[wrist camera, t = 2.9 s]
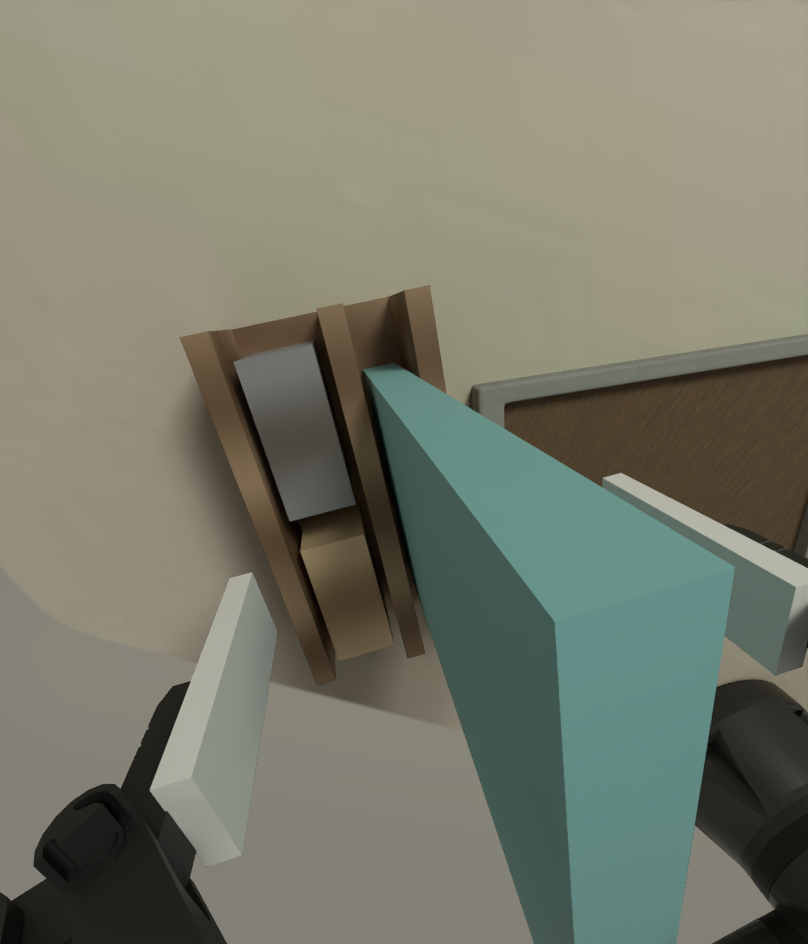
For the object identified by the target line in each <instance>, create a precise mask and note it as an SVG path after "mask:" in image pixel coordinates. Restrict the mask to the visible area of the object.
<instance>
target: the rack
mask: <svg viewBox="0 0 808 944" xmlns="http://www.w3.org/2000/svg"><path fill="white" fill-rule="evenodd" d="M180 339H181V342H182V345H183V347H184V350H185V352H186V355H187V357H188V360H189V362H190V365H191V367H192V370H193V372H194V375H195V377H196V380H197V383H198V385H199V388H200V390H201V393H202V395H203V398H204V400H205V403H206V405H207V408H208V410H209V413H210V415H211V418H212V420H213V423H214V426H215V428H216V431H217V433H218V436H219V438H220V441H221V443H222V446H223V448H224V451H225V453H226V456H227V458H228V461H229V464H230V466H231V469H232V471H233V474H234V476H235V479H236V481H237V484H238V486H239V489H240V491H241V494H242V496H243V499H244V501H245V504H246V507H247V509H248V512H249V514H250V517H251V519H252V522H253V524H254V527H255V529H256V532H257V534H258V537H259V539H260V542H261V545H262V547H263V550H264V552H265V555H266V557H267V560H268V562H269V565H270V567H271V570H272V572H273V575H274V577H275V580H276V582H277V585H278V588H279V590H280V593H281V595H282V598H283V600H284V603H285V605H286V608H287V610H288V613H289V615H290V618H291V620H292V623H293V625H294V628H295V631H296V633H297V636H298V638H299V641H300V643H301V646H302V648H303V651H304V653H305V656H306V658H307V661H308V663H309V666H310V669H311V671H312V674H313V676H314V679H315V681H316V684H317V686H319V685H322V684H325V683H329V682H332V681H335V680H336V671H335V648H334V645H333V643H332V640H331V637H330V634H329V631H328V628H327V626H326V623H325V620H324V617H323V614H322V611H321V609H320V606H319V603H318V600H317V597H316V594H315V592H314V589H313V586H312V583H311V580H310V577H309V575H308V572H307V569H306V566H305V563H304V560H303V558H302V555H301V552H300V550H301V541H302V533H303V524H304V518H302V519H298V520H294V521H289V518H288V515H287V512H286V509H285V507H284V504H283V501H282V498H281V495H280V492H279V490H278V487H277V484H276V481H275V478H274V475H273V473H272V470H271V467H270V464H269V461H268V458H267V456H266V453H265V450H264V447H263V444H262V442H261V439H260V436H259V433H258V430H257V427H256V425H255V422H254V419H253V416H252V413H251V410H250V408H249V405H248V402H247V399H246V396H245V393H244V391H243V388H242V385H241V382H240V379H239V376H238V374H237V371H236V368H235V365H234V361H237V360H239V359H242V358H244V357H246V356H249V355H251V354H255V353H259V352H264V351H269V350H273V349H278V348H282V347H287V346H292V345H296V344H301V343H306V342H310V341H315V342H316V346H317V349H318V353H319V357H320V361H321V364H322V368H323V372H324V375H325V379H326V383H327V386H328V390H329V394H330V398H331V401H332V405H333V409H334V412H335V416H336V420H337V424H338V427H339V431H340V435H341V438H342V442H343V446H344V450H345V453H346V457H347V461H348V464H349V468H350V472H351V477H352V483H353V490H354V496H355V500H356V499H358V502H359V505H360V509H361V513H362V516H363V520H364V524H365V527H366V531H367V535H368V539H369V542H370V546H371V550H372V553H373V557H374V561H375V565H376V568H377V572H378V576H379V579H380V583H381V587H382V591H383V594H384V598H385V603H386V608H387V612H390V611H393V610H395V612H396V616H397V620H398V624H399V628H400V632H401V635H402V639H403V643H404V647H405V651H406V655H407V658H412V657H415V656H418V655H422V654H425V651H424V646H423V642H422V638H421V634H420V629H419V625H418V621H417V617H416V612H415V608H414V604H417V603H420V600H419V597H418V594H417V591H416V588H415V585H414V582H413V579H412V576H411V573H410V570H409V567H408V563H407V559H406V555H405V550H404V546H403V542H402V537H401V533H400V529H399V524H398V520H397V516H396V511H395V507H394V503H393V498H392V494H391V490H390V485H389V481H388V477H387V472H386V468H385V464H384V459H383V455H382V451H381V446H380V442H379V438H378V433H377V429H376V425H375V420H374V416H373V412H372V407H371V403H370V399H369V394H368V390H367V386H366V382H365V377H364V373H363V369H368V368H372V367H376V366H381V365H385V364H390V363H395V364H397V365H399V366H400V367H402V368H404V369H405V370H407V371H409V372H410V373H412V374H414V375H415V376H417V377H419V378H420V379H422V380H424V381H425V382H427V383H429V384H430V385H432V386H434V387H435V388H437V389H439V390H440V391H442V392H444V393H445V394H446V388H445V382H444V375H443V369H442V362H441V356H440V349H439V343H438V336H437V330H436V323H435V317H434V310H433V304H432V298H431V291H430V285H429V286H424V287H419V288H414V289H409V290H405V291H402V292H400V293H397V294H395V295H392V296H390V297H386V298H381V299H376V300H372V301H367V302H362V303H357V304H352V305H348V306H343V303H342V304H337V305H333V306H328V307H323V308H318V309H317V312H314V313H309V314H305V315H300V316H295V317H290V318H286V319H281V320H276V321H271V322H266V323H262V324H257V325H252V326H247V327H243V328H238V329H233V330H221V331H208V332H203V333H198V334H194V335H189V336H184V337H180Z"/></svg>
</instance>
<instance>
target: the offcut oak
mask: <svg viewBox="0 0 808 944" xmlns="http://www.w3.org/2000/svg"><path fill="white" fill-rule="evenodd" d="M355 502H356V505H352V506H348V507H344V508H340V509H336V510H332V511H329V512H325V513H321V514H317V515H313V516H309V517H305V518H304V524H303V533H302V541H301V550H300V552H301V555H302V558H303V560H304V563H305V566H306V569H307V572H308V575H309V577H310V580H311V583H312V586H313V589H314V592H315V594H316V597H317V600H318V603H319V606H320V609H321V611H322V614H323V617H324V620H325V623H326V626H327V628H328V631H329V634H330V637H331V640H332V643H333V645H334V648H335V651H336V654H337V657H338V660H339V661H343V660H346V659H349V658H353V657H356V656H360V655H363V654H366V653H370V652H373V651H376V650H380V649H383V648H386V647H390V646H393V645H394V641H393V637H392V632H391V627H390V622H389V617H388V613H387V608H386V603H385V598H384V594H383V591H382V587H381V583H380V579H379V576H378V572H377V568H376V565H375V561H374V557H373V553H372V550H371V546H370V542H369V539H368V535H367V531H366V527H365V524H364V520H363V516H362V513H361V509H360V505H359V502H358V499H356V500H355Z"/></svg>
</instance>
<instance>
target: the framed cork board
mask: <svg viewBox="0 0 808 944" xmlns="http://www.w3.org/2000/svg"><path fill="white" fill-rule="evenodd" d="M471 396H472V410H474V411H475V412H477V413H479V414H480V415H482V416H484V417H485V418H487V419H489V420H490V421H492V422H494V423H495V424H497V425H499V426H500V427H502V428H504V429H505V430H507V431H509V432H510V433H512V434H514V435H515V436H517V437H519V438H521V439H522V440H524V441H526V442H527V443H529V444H531V445H532V446H534V447H536V448H537V449H539V450H541V451H542V452H544V453H546V454H547V455H549V456H551V457H552V458H554V459H556V460H557V461H559V462H561V463H562V464H564V465H566V466H567V467H569V468H571V469H572V470H574V471H576V472H577V473H579V474H581V475H582V476H584V477H586V478H587V479H589V480H591V481H592V482H594V483H596V484H597V485H599V486H601V487H602V488H603V478H604V477H608V476H611V475H615V474H619V473H622V474H624V475H626V476H628V477H630V478H632V479H634V480H636V481H638V482H640V483H642V484H644V485H646V486H648V487H650V488H652V489H654V490H656V491H658V492H660V493H661V494H663V495H665V496H667V497H669V498H671V499H673V500H675V501H677V502H679V503H681V504H683V505H685V506H687V507H689V508H691V509H693V510H695V511H697V512H699V513H701V514H703V515H704V516H706V517H708V518H710V519H712V520H714V521H716V522H718V523H720V524H722V525H725V524H730V525H734V526H737V527H741V528H744V529H748V530H751V531H753V532H755V533H757V534H759V535H761V536H763V537H765V538H767V539H769V541H770V542H772V541H773V542H775V543H777V544H779V545H781V546H783V547H785V549H786V550H788V549H789V550H791V551H794V552H796V553H798V554H800V555H802V556H804V557H806V558H808V334H806V335H799V336H792V337H786V338H779V339H773V340H766V341H760V342H753V343H746V344H740V345H733V346H727V347H720V348H713V349H707V350H700V351H694V352H687V353H681V354H674V355H667V356H661V357H654V358H648V359H641V360H634V361H628V362H621V363H615V364H608V365H602V366H595V367H588V368H582V369H575V370H569V371H562V372H556V373H549V374H542V375H536V376H529V377H523V378H516V379H509V380H503V381H496V382H490V383H484V384H478V385H474V386H472V390H471Z"/></svg>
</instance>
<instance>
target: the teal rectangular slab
mask: <svg viewBox="0 0 808 944" xmlns="http://www.w3.org/2000/svg"><path fill="white" fill-rule="evenodd" d="M363 373H364V377H365V382H366V386H367V390H368V394H369V399H370V403H371V407H372V412H373V416H374V420H375V425H376V429H377V433H378V438H379V442H380V446H381V451H382V455H383V459H384V464H385V468H386V472H387V477H388V481H389V485H390V490H391V494H392V498H393V503H394V507H395V511H396V516H397V520H398V524H399V529H400V533H401V537H402V542H403V546H404V550H405V555H406V559H407V563H408V567H409V570H410V573H411V576H412V579H413V582H414V585H415V588H416V591H417V594H418V597H419V600H420V603H421V606H422V609H423V612H424V615H425V618H426V621H427V624H428V627H429V630H430V633H431V636H432V639H433V642H434V645H435V648H436V651H437V654H438V657H439V660H440V663H441V666H442V669H443V672H444V675H445V678H446V681H447V684H448V687H449V690H450V693H451V696H452V699H453V702H454V705H455V708H456V711H457V714H458V717H459V720H460V723H461V726H462V729H463V732H464V735H465V737H466V740H467V744H468V746H469V749H470V753H471V756H472V759H473V762H474V764H475V768H476V770H477V773H478V777H479V780H480V782H481V786H482V788H483V792H484V795H485V798H486V801H487V804H488V806H489V809H490V812H491V816H492V818H493V821H494V824H495V827H496V830H497V833H498V836H499V839H500V842H501V845H502V848H503V851H504V854H505V857H506V860H507V863H508V866H509V869H510V872H511V875H512V878H513V881H514V884H515V887H516V890H517V893H518V896H519V899H520V902H521V905H522V908H523V911H524V914H525V917H526V920H527V923H528V926H529V929H530V932H531V935H532V938H533V941H534V944H676V941H677V934H678V928H679V922H680V915H681V909H682V903H683V896H684V889H685V883H686V876H687V870H688V864H689V858H690V851H691V845H692V839H693V833H694V826H695V820H696V813H697V807H698V801H699V794H700V788H701V782H702V775H703V769H704V762H705V756H706V750H707V743H708V737H709V731H710V724H711V718H712V711H713V705H714V699H715V692H716V686H717V680H718V673H719V667H720V660H721V654H722V648H723V641H724V635H725V629H726V622H727V616H728V609H729V603H730V597H731V590H732V584H733V578H734V571H735V567H734V566H732V565H731V564H729V563H727V562H726V561H724V560H722V559H721V558H719V557H717V556H716V555H714V554H712V553H711V552H709V551H707V550H706V549H704V548H702V547H701V546H699V545H697V544H696V543H694V542H692V541H691V540H689V539H687V538H686V537H684V536H682V535H681V534H679V533H677V532H676V531H674V530H672V529H671V528H669V527H667V526H666V525H664V524H662V523H661V522H659V521H657V520H656V519H654V518H652V517H651V516H649V515H647V514H646V513H644V512H642V511H641V510H639V509H637V508H636V507H634V506H632V505H631V504H629V503H627V502H626V501H624V500H622V499H621V498H619V497H617V496H616V495H614V494H612V493H611V492H609V491H607V490H606V489H604V488H602V487H601V486H599V485H597V484H596V483H594V482H592V481H591V480H589V479H587V478H586V477H584V476H582V475H581V474H579V473H577V472H576V471H574V470H572V469H571V468H569V467H567V466H566V465H564V464H562V463H561V462H559V461H557V460H556V459H554V458H552V457H551V456H549V455H547V454H546V453H544V452H542V451H541V450H539V449H537V448H536V447H534V446H532V445H531V444H529V443H527V442H526V441H524V440H522V439H521V438H519V437H517V436H515V435H514V434H512V433H510V432H509V431H507V430H505V429H504V428H502V427H500V426H499V425H497V424H495V423H494V422H492V421H490V420H489V419H487V418H485V417H484V416H482V415H480V414H479V413H477V412H475V411H474V410H472V409H470V408H469V407H467V406H465V405H464V404H462V403H460V402H459V401H457V400H455V399H454V398H452V397H450V396H449V395H447V394H445V393H444V392H442V391H440V390H439V389H437V388H435V387H434V386H432V385H430V384H429V383H427V382H425V381H424V380H422V379H420V378H419V377H417V376H415V375H414V374H412V373H410V372H409V371H407V370H405V369H404V368H402V367H400V366H399V365H397V364H395V363H390V364H385V365H381V366H376V367H372V368H368V369H363Z"/></svg>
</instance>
